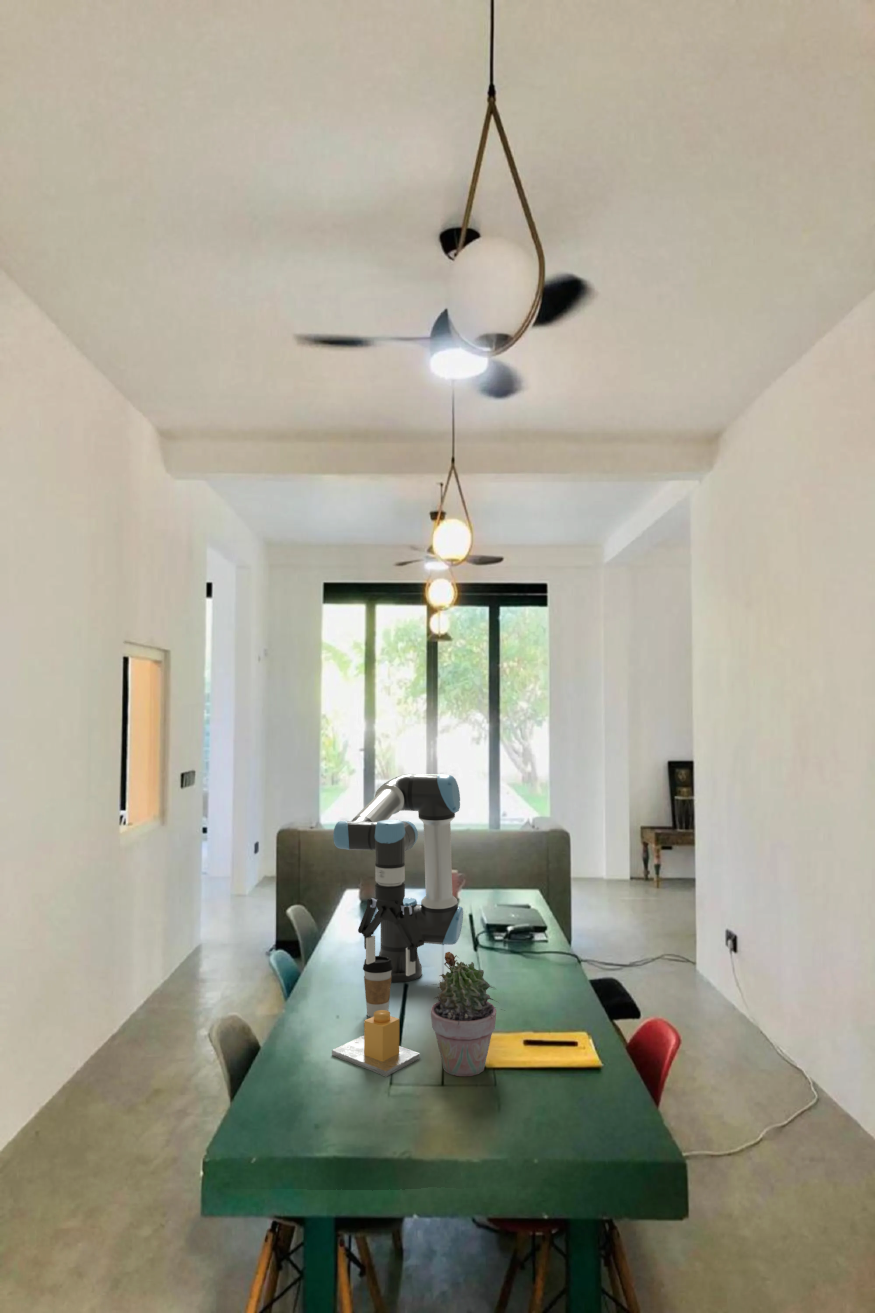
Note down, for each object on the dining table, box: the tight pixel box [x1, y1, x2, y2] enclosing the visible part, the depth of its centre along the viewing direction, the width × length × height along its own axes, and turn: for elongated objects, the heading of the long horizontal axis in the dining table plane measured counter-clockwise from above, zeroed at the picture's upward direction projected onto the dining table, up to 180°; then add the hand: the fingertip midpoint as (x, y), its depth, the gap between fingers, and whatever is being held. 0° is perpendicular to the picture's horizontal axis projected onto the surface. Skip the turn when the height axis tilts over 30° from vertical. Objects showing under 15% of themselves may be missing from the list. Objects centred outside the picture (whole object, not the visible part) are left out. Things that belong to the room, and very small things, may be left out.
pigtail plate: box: [331, 1035, 421, 1078], centre depth 184 cm, size 18×12×6 cm, turn 51°
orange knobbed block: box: [363, 1010, 400, 1062], centre depth 183 cm, size 6×6×10 cm
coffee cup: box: [362, 955, 393, 1018], centre depth 211 cm, size 8×8×15 cm
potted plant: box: [424, 951, 506, 1077], centre depth 179 cm, size 18×20×25 cm
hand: (390, 968), depth 190 cm, fingers open, 13 cm apart
